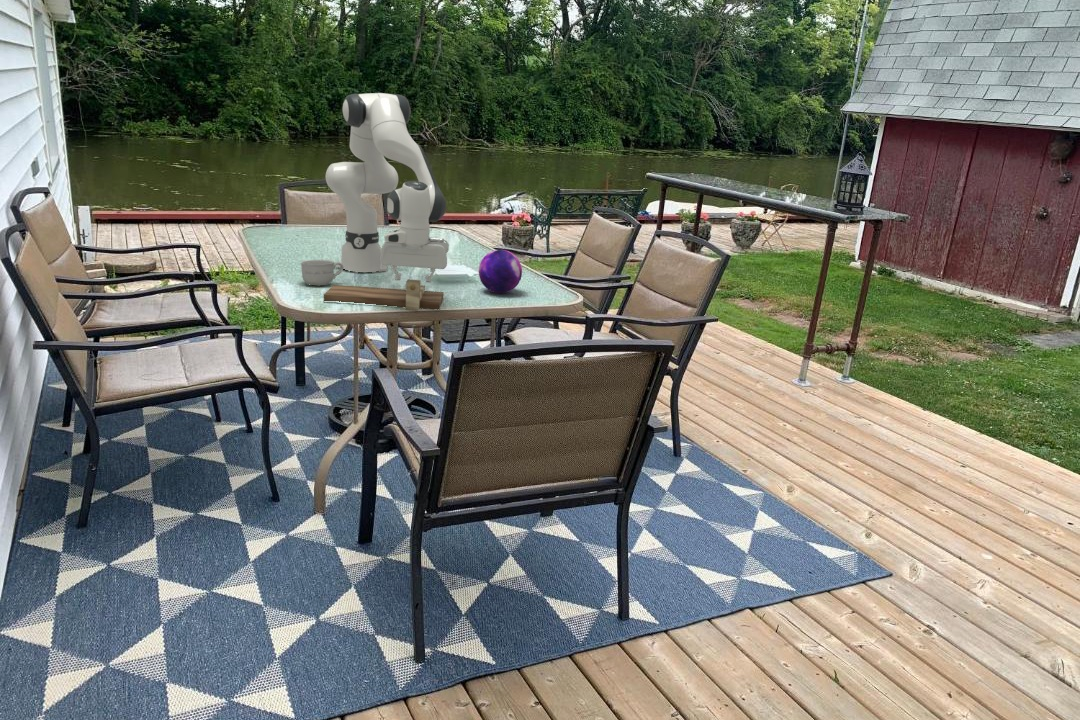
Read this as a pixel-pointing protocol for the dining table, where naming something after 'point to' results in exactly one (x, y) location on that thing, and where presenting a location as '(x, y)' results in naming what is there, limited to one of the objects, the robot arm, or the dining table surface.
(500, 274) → the decorative orb
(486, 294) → the dining table surface
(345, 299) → the oak plank
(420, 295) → the marking gauge
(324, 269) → the teacup
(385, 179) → the robot arm
